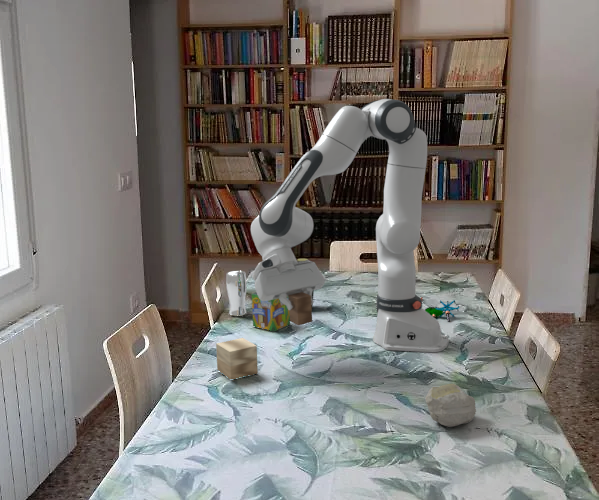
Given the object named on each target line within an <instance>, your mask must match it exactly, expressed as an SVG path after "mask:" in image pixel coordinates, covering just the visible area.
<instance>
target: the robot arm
mask: <svg viewBox="0 0 599 500" xmlns="http://www.w3.org/2000/svg"><path fill="white" fill-rule="evenodd" d="M368 138H376V139H378V140H379V139H380V140H385V141H386V142H387V145H388V159H387V164H386V173H385V180H384V187H383V210H382V211H383V212H382V214H381V215H380V216H379V218H378V219H377V221H376V225H375V241H376V256H377V257H376V258H377V269H378V270H377V271H378V273H377V274H378V277H377V281H378V282H377V284H378V285H377V286H378V287H377V288H378V289H377V292H378V293H377V294H376V302H375V303H376V304H375V305H376V313H377V317H376V323H375V329H374V333H373V336H372V341H373V342H374V343H375V344H377V345H378V346H381V347H382V348H383V349H384V350H387V351H398V352H399V351H400V352H401V351H403V352H419V353H420V352H421V353H439V352H442V351H444V350H445V349H446V348H447V347H448V346H449V341H450V340H449V337H448V336H447V335H446V334H442V330H441V329H442V328H441V324H440V322H439V321H438V319H436V317H435V318H434V317H433V316H431V315H430V314H429V313H427V312H426V311H425V308H423V300H424V299H423V297H422V296H421V297H419V295H417V293H416V288H417V287H416V281H417V280H416V278H417V277H416V275H417V274H416V273H417V272H416V271H417V270H416V268H417V267H416V262H415V255H414V254H415V253H414V250H416V249H417V247H418V246H419V243H420V241H421V226H422V222H421V221H422V206H423V205H422V199H423V190H424V183H425V177H426V176H425V175H426V168H427V162H428V137H427V135H426V133H425V131H424V130H422V129H421V128H418V127H417V124H416V122H415V119H414V114H413V111H412V110H411V108H410V106H409V105H408V104H407V103H405V102H404V101H401V100H399V99H391V98H383V99H382V98H381V99H376V100H373V101H370V102H368V103H367V104H365V105H364V106H362V107H361V108H359V107H357V106H353V105H345V106H342V107H340V109H339V110H338V111H337V112H336V113H335V114H334V115H333V117H332V119H331V120H330V121H329V123H328V124H327V126H326V127H325V129H324V131H323V132H322V134H321V136H320V137H319V139H318V140H317V142H316V143H315V144H314V146H313V147H312V148H310V150H309V151H307V152H305V154H303V155H302V156H301V158H300V159H299V160H298V161H297V163H296V164H295V165H294V167H293V168H292V170H291V171H290V172H289V174H288V175H287V177H286V178H285V179H284V181H283V182H282V184H281V185H280V186H279V187H278V189H277V190H276V192H275V193H274V194H273V195H272V196H271V197H269V199H268V200H267V201H265V203H264V204H263V205H262V207H261V208H260V211H259V214H258V215H257V217H255V218H254V219H253V220H252V222H251V225H250V235H251V238H252V241H253V243H254V246H255V248H256V250H257V253H259V254H260V256H261V259H262V261H260V262H259V263H258V264H257V265H256V267H255V269H254V271H253V273H252V276H251V277H252V280H253V281H254V288H255V292H257V295H258V297H259V299H260V300H262V301H269V300H273V299H278V298H279V300H280V301H281V302H282V303H283V304H285V305H286V306H287V308H288V310H292V309H294V308H295V304H294V302H293V301H291V302H290V301H289V300H288V299H287V298H286V297H287V296H288V295H291V294H296V293H300V292H303V293H306V294H308V295H311V305H312V304H313V305H314V302H315V301H314V298H313V299H312V291H313V290H314V291H317V290H321V289H322V288H323V287H324V286H325V283H326V279H325V276H324V275H323V273H322V272H321V270H320V269H319V268H318V266H317V264H316V262H314V261H311V260H309V259H308V260H305V261H300V262H297V258H296V256H295V254H294V252H293V250H292V248H294V247H296V246H299V245H301V244H302V243H304V242H306V241H307V240H308V239H309V238H310V237H311V236H312V235H313V231H314V227H315V226H314V225H315V224H314V223H315V222H314V219H313V217H312V216H311V214H310V213H308V212H306V211H305V210H303V209H301V208H299V207H296V205H297V203H298V201H299V200H300V198H301V197H302V196H303V195H304V193H305V191H306V190H307V189H308V187H310V184H312V182H313V181H315V180H316V179H317V178H319V177H325V176H335V175H338V174H341V173H343V172H345V171H346V170H347V169H348V167H349V166H350V165H351V164H352V162H353V161H354V159H355V157H356V155H357V153H358V151H359V149H360V148H361V146H362V144H363V143H364V142H365V141H366V140H367V139H368Z"/></svg>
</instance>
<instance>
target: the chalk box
mask: <svg viewBox="0 0 599 500" xmlns="http://www.w3.org/2000/svg"><path fill="white" fill-rule="evenodd" d="M286 298H287V299H288V300H289V297H288V296H287V297H286ZM251 306H252V307H251V309H252V312H251V313H252V327H253V326H255V327H259V328H263V329H262V330H264V329H267V330H266V331H269V330H270V331H269V332H273V331H274V332H277V331H279V330H281V329H283V327H284V328H286V327H285V326H287V325H289V324H290V325H291V321H290V314H289V310H288V308H287V306H286V305H285V304H283V303H282V302H281V301H280V300H279V298H278V299H273V300H269V301H262V300H260V299H259V297H258V295H257V292H256V291H255V292H253V293H251ZM290 325H289V326H290ZM287 327H288V326H287ZM280 328H281V329H280ZM278 329H279V330H278Z"/></svg>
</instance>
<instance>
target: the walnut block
mask: <svg viewBox="0 0 599 500" xmlns="http://www.w3.org/2000/svg"><path fill="white" fill-rule="evenodd" d="M288 297H289V301H290V302H291V301H293V302H294V304H295V308H294V309H292V310H289V314H290V323H292V324H294V325H297V326H301V325H305V324H306V325H307V324H309V323H312V322H313V311H312V309H313V308H312V305H311V295H308V294H306V293H303V292H300V293H296V294H291V295H288Z"/></svg>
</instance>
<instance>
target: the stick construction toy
mask: <svg viewBox="0 0 599 500" xmlns="http://www.w3.org/2000/svg"><path fill="white" fill-rule="evenodd" d="M439 303H440V304H441V305H443V306H441V307H437V306H435V307H434V306H429V307H426V308H424V310H425V311H426V312H427V313H429V314H430V315H431V316H433V317H434V318H435V319H436V317H439V318H441V317H443V316H444V315H445V317H446V319H447V322H448V323H451V317H452V318H454V317H455V314H454V313H452V311H455V310H457V312H459V309H460V306H459V305H458V306H457V307H453V306H452V305H453V304H455V303H456V300H455V299H453V300H452V301H451V302H449V300H447V301H446V303H447V304H446V303H445V302H443V301H442V300H439ZM450 316H451V317H450Z"/></svg>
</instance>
